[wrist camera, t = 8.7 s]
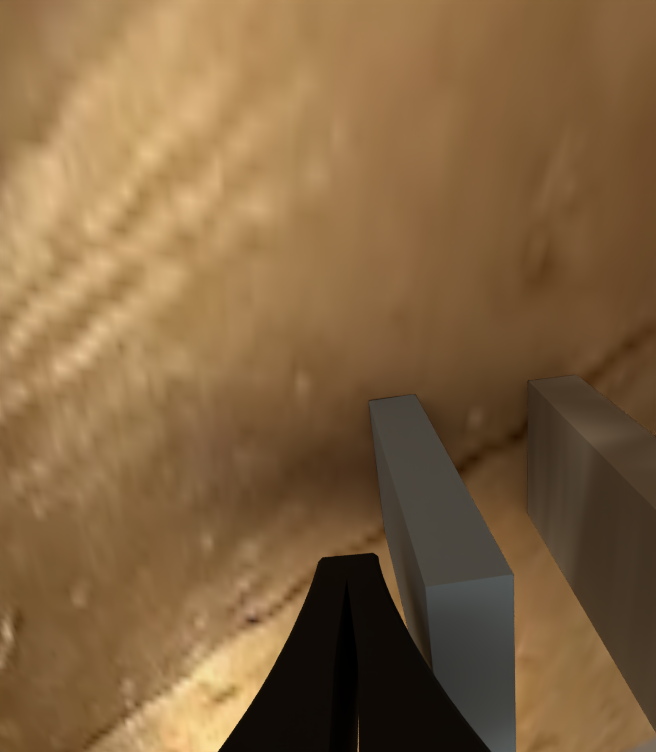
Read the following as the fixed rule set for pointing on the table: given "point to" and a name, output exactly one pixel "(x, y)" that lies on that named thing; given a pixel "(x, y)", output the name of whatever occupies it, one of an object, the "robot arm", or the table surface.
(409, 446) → the domino
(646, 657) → the domino
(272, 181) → the table surface
